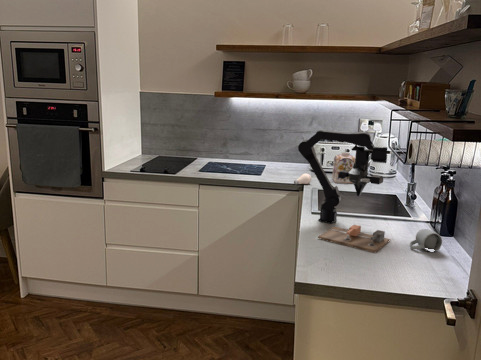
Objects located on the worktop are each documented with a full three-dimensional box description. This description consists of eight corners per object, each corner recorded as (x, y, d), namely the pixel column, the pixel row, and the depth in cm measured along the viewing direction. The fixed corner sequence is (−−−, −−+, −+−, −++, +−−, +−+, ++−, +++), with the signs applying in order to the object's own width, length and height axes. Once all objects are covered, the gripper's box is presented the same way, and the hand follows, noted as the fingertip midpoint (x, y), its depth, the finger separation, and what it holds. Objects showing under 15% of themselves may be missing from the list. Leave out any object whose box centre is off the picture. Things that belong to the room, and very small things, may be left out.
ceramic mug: (430, 244, 192) (432, 226, 190) (441, 252, 184) (443, 233, 182) (405, 245, 190) (407, 227, 189) (415, 253, 183) (417, 234, 181)
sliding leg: (343, 237, 192) (344, 230, 191) (353, 231, 200) (354, 224, 199) (350, 239, 190) (351, 232, 189) (360, 233, 198) (360, 226, 197)
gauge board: (317, 238, 194) (318, 227, 193) (334, 228, 207) (335, 218, 206) (375, 252, 181) (376, 241, 180) (389, 241, 194) (390, 230, 193)
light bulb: (294, 177, 280) (311, 172, 283) (290, 177, 287) (306, 171, 289) (297, 188, 281) (314, 182, 284) (293, 187, 287) (309, 182, 290)
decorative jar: (354, 183, 291) (357, 154, 286) (335, 183, 291) (337, 153, 287) (350, 179, 302) (352, 151, 298) (331, 178, 302) (334, 150, 298)
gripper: (334, 160, 206) (331, 195, 210) (376, 167, 196) (372, 203, 199) (344, 157, 215) (341, 191, 219) (385, 163, 205) (381, 198, 208)
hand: (358, 196), depth 211 cm, fingers closed
